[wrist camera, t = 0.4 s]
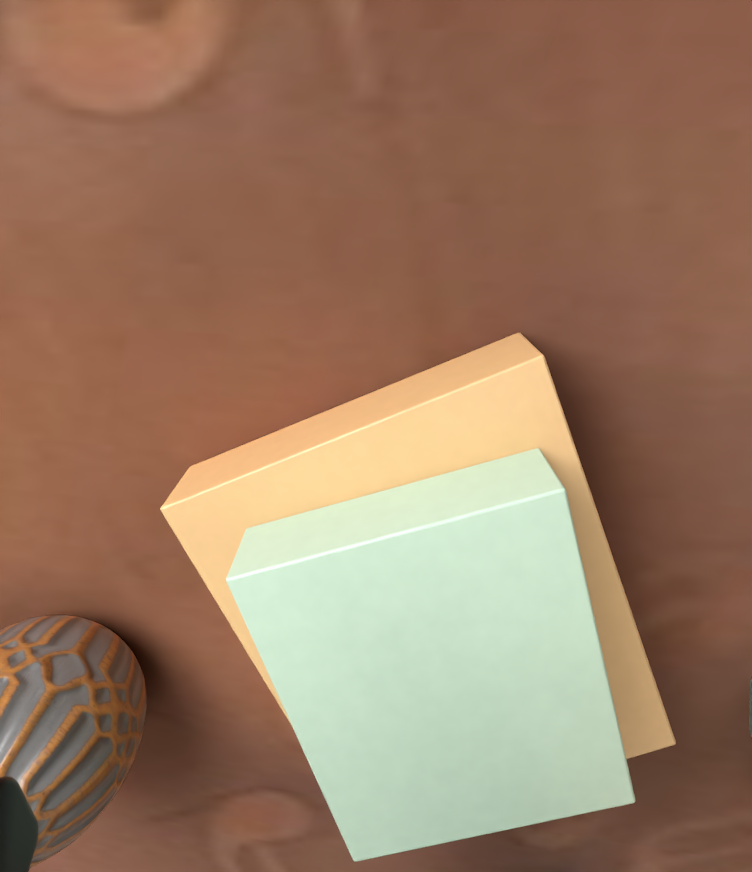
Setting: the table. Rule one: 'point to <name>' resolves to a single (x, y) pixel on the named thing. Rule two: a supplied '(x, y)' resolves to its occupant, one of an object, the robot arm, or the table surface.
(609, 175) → the table surface
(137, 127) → the table surface
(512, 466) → the box stack
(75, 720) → the vase
